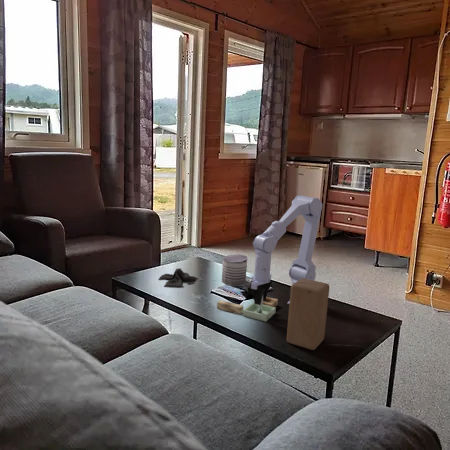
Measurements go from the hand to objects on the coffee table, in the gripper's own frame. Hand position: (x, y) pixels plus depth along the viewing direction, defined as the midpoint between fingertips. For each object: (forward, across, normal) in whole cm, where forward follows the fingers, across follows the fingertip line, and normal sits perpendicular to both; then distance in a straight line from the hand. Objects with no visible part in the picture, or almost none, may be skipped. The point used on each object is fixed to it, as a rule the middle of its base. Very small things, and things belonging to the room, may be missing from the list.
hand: (260, 302), depth 157 cm
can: (+5, -28, -24) cm, 38 cm away
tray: (+5, 0, 0) cm, 5 cm away
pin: (+4, 0, 0) cm, 5 cm away
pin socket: (+5, -10, -1) cm, 11 cm away
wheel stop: (+5, +3, -11) cm, 12 cm away
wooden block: (+5, +12, +22) cm, 25 cm away
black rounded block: (+6, -17, -12) cm, 21 cm away
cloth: (+6, -16, -45) cm, 48 cm away
